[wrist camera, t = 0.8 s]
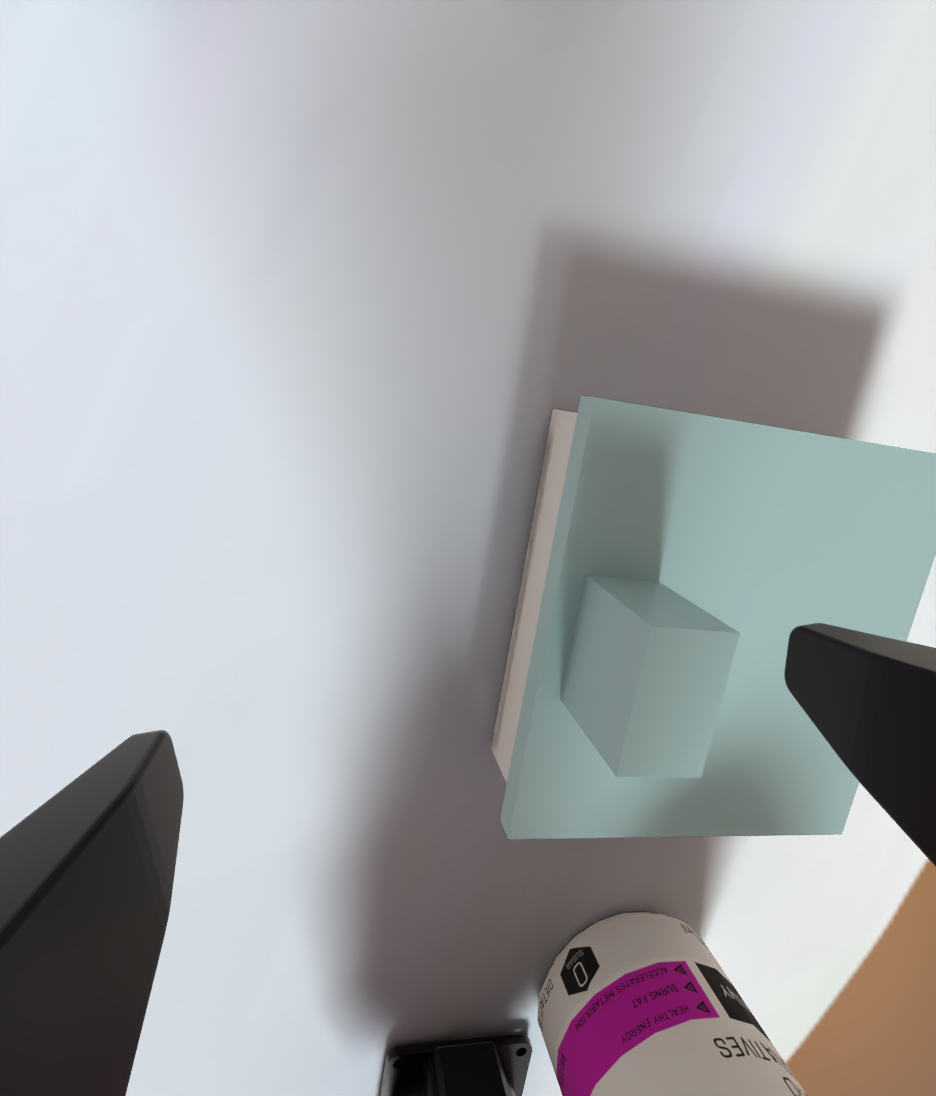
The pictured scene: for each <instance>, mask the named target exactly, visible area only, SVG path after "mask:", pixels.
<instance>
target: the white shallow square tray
mask: <svg viewBox="0 0 936 1096" xmlns="http://www.w3.org/2000/svg"><path fill="white" fill-rule="evenodd" d="M576 418H577V413H576V412H569V411H563V410H557V409H553V410H552V416H551V421H550V427H549V432H548V438H547V443H546V449H545V454H544V460H543V465H542V471H541V476H540V482H539V487H538V493H537V498H536V504H535V509H534V515H533V520H532V526H531V531H530V537H529V542H528V548H527V553H526V559H525V564H524V570H523V575H522V581H521V586H520V592H519V597H518V603H517V608H516V614H515V619H514V625H513V630H512V636H511V641H510V647H509V652H508V658H507V663H506V669H505V674H504V680H503V685H502V691H501V696H500V702H499V707H498V713H497V718H496V724H495V729H494V735H493V740H492V746H491V749H492V752H493V754H494V756H495V759H496V761H497V763H498V765H499V768H500V770H501V772H502V774H503V777H504V779H505V781H506V783H507V779H508V774H509V769H510V764H511V758H512V753H513V748H514V743H515V737H516V732H517V727H518V722H519V716H520V711H521V706H522V701H523V695H524V690H525V685H526V680H527V675H528V669H529V664H530V659H531V654H532V648H533V643H534V638H535V633H536V627H537V622H538V617H539V612H540V606H541V601H542V596H543V591H544V585H545V580H546V575H547V570H548V564H549V559H550V554H551V549H552V544H553V538H554V533H555V528H556V523H557V517H558V512H559V507H560V502H561V496H562V491H563V486H564V481H565V475H566V470H567V465H568V460H569V454H570V449H571V444H572V439H573V433H574V428H575V423H576Z"/></svg>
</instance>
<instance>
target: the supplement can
mask: <svg viewBox="0 0 936 1096" xmlns="http://www.w3.org/2000/svg"><path fill="white" fill-rule="evenodd" d="M538 1024H539V1027H540V1029H541V1032H542V1035H543V1038H544V1041H545V1044H546V1047H547V1050H548V1053H549V1056H550V1059H551V1062H552V1065H553V1068H554V1071H555V1074H556V1077H557V1080H558V1083H559V1086H560V1089H561V1092H562V1095H563V1096H807V1095H806V1093H805V1092H804V1090H803V1089H802V1087H801V1086H800V1085H799V1083H798V1082H797V1080H796V1079H795V1077H794V1076H793V1074H792V1073H791V1071H790V1070H789V1068H788V1067H787V1065H786V1064H785V1062H784V1061H783V1059H782V1058H781V1056H780V1055H779V1053H778V1052H777V1050H776V1049H775V1047H774V1046H773V1044H772V1043H771V1041H770V1040H769V1038H768V1037H767V1035H766V1034H765V1032H764V1031H763V1029H762V1028H761V1026H760V1025H759V1023H758V1022H757V1020H756V1019H755V1017H754V1016H753V1015H752V1013H751V1012H750V1010H749V1009H748V1007H747V1006H746V1004H745V1003H744V1001H743V1000H742V998H741V997H740V995H739V994H738V992H737V991H736V989H735V988H734V986H733V985H732V983H731V982H730V980H729V979H728V977H727V976H726V974H725V973H724V971H723V970H722V968H721V967H720V965H719V964H718V962H717V961H716V959H715V958H714V956H713V955H712V953H711V952H710V951H709V949H708V948H707V946H706V945H705V943H704V942H703V940H702V939H701V937H700V936H699V935H698V934H697V933H696V932H695V931H694V930H693V929H692V928H691V927H690V926H689V925H688V924H687V923H686V922H684V921H681V920H678V919H675V918H672V917H669V916H666V915H663V914H652V913H649V912H635V913H621V914H618V915H615V916H612V917H609V918H606V919H604V920H601V921H598V922H596V923H594V924H593V925H591V926H590V927H588V928H587V929H585V930H584V931H582V932H581V933H579V934H578V935H576V936H575V937H574V938H573V939H572V940H571V941H570V942H569V943H568V944H567V946H566V947H565V948H564V949H563V950H562V951H561V952H560V954H559V955H558V956H557V957H556V959H555V961H554V963H553V966H552V967H551V969H550V971H549V973H548V975H547V978H546V980H545V982H544V984H543V987H542V989H541V991H540V993H539V999H538Z"/></svg>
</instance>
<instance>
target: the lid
mask: <svg viewBox="0 0 936 1096" xmlns="http://www.w3.org/2000/svg"><path fill="white" fill-rule="evenodd" d="M935 554H936V454H935V453H929V452H923V451H917V450H911V449H905V448H899V447H893V446H886V445H880V444H874V443H868V442H862V441H856V440H850V439H844V438H838V437H832V436H826V435H820V434H814V433H808V432H802V431H796V430H790V429H784V428H778V427H772V426H766V425H760V424H754V423H748V422H742V421H736V420H730V419H724V418H718V417H712V416H706V415H700V414H694V413H688V412H682V411H676V410H670V409H664V408H658V407H652V406H646V405H640V404H634V403H628V402H622V401H616V400H610V399H604V398H598V397H590V396H581V397H580V402H579V407H578V413H577V418H576V423H575V428H574V433H573V439H572V444H571V449H570V454H569V460H568V465H567V470H566V475H565V481H564V486H563V491H562V496H561V502H560V507H559V512H558V517H557V523H556V528H555V533H554V538H553V544H552V549H551V554H550V559H549V564H548V570H547V575H546V580H545V585H544V591H543V596H542V601H541V606H540V612H539V617H538V622H537V627H536V633H535V638H534V643H533V648H532V654H531V659H530V664H529V669H528V675H527V680H526V685H525V690H524V695H523V701H522V706H521V711H520V716H519V722H518V727H517V732H516V737H515V743H514V748H513V753H512V758H511V764H510V769H509V774H508V779H507V785H506V790H505V795H504V800H503V806H502V811H501V816H500V820H501V823H502V826H503V828H504V831H505V833H506V836H507V838H508V839H571V838H636V837H702V836H768V835H833V834H842V832H843V829H844V826H845V823H846V820H847V817H848V814H849V811H850V808H851V805H852V802H853V799H854V796H855V793H856V790H857V787H858V784H859V781H858V780H857V779H856V778H855V776H854V775H853V774H852V773H851V772H850V771H849V769H848V768H847V767H846V766H845V764H844V763H843V762H842V760H841V759H840V758H839V757H838V755H837V754H836V753H835V751H834V750H833V749H832V747H831V746H830V745H829V743H828V742H827V741H826V739H825V738H824V737H823V735H822V734H821V733H820V731H819V730H818V729H817V727H816V726H815V725H814V723H813V722H812V721H811V719H810V718H809V717H808V715H807V714H806V713H805V711H804V710H803V709H802V707H801V706H800V705H799V703H798V702H797V701H796V699H795V698H794V697H793V695H792V694H791V693H790V691H789V690H788V688H787V685H786V682H785V677H784V671H785V664H786V656H787V648H788V641H789V635H790V633H791V631H792V630H793V629H794V628H795V627H797V626H801V625H807V624H813V623H824V624H828V625H833V626H838V627H842V628H847V629H851V630H856V631H860V632H865V633H869V634H874V635H878V636H883V637H887V638H892V639H897V640H901V641H907V638H908V635H909V632H910V629H911V626H912V623H913V620H914V617H915V614H916V611H917V608H918V605H919V602H920V599H921V596H922V593H923V590H924V587H925V584H926V581H927V578H928V575H929V572H930V569H931V566H932V563H933V560H934V557H935Z"/></svg>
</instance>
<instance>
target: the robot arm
mask: <svg viewBox="0 0 936 1096" xmlns="http://www.w3.org/2000/svg"><path fill="white" fill-rule="evenodd" d="M784 677H785V682H786V685H787V688H788V690H789V691H790V693H791V694H792V695H793V697H794V698H795V699H796V701H797V702H798V703H799V705H800V706H801V707H802V709H803V710H804V711H805V713H806V714H807V715H808V717H809V718H810V719H811V721H812V722H813V723H814V725H815V726H816V727H817V729H818V730H819V731H820V733H821V734H822V735H823V737H824V738H825V739H826V741H827V742H828V743H829V745H830V746H831V747H832V749H833V750H834V751H835V753H836V754H837V755H838V757H839V758H840V759H841V760H842V762H843V763H844V764H845V766H846V767H847V768H848V769H849V771H850V772H851V773H852V774H853V775H854V776H855V778H856V779H857V780H858V781H859V782H860V783H861V784H862V786H863V787H864V788H865V789H866V790H867V791H868V792H869V793H870V794H871V796H872V797H873V798H874V799H875V800H876V801H877V802H878V803H879V804H880V805H881V807H882V808H883V809H884V810H885V811H886V812H887V813H888V814H889V815H890V817H891V818H892V819H893V820H894V821H895V822H896V823H897V824H898V825H899V827H900V828H901V829H902V830H903V831H904V832H905V833H906V834H907V835H908V837H909V838H910V839H911V840H912V841H913V842H914V843H915V844H916V845H917V847H918V848H919V849H920V850H921V851H922V852H923V853H924V854H925V855H926V856H927V858H928V859H929V860H930V861H931V862H932V863H933V864H934V865H935V866H936V648H933V647H928V646H924V645H919V644H915V643H910V642H906V641H901V640H897V639H892V638H887V637H883V636H878V635H874V634H869V633H865V632H860V631H856V630H851V629H847V628H842V627H838V626H833V625H828V624H824V623H813V624H807V625H801V626H797V627H795V628H794V629H793V630H792V631H791V633H790V635H789V641H788V648H787V656H786V664H785V671H784ZM182 808H183V783H182V779H181V775H180V771H179V767H178V763H177V759H176V755H175V751H174V747H173V743H172V739H171V737H170V735H169V734H168V733H167V732H166V731H164V730H159V731H153V732H147V733H141V734H135V735H132V736H131V737H129V738H128V739H127V740H125V741H124V742H123V743H121V744H120V745H119V746H118V747H116V748H115V749H114V750H112V751H111V752H110V753H109V754H107V755H106V756H105V757H103V758H102V759H101V760H100V761H98V762H97V763H96V764H94V765H93V766H92V767H91V768H89V769H88V770H87V771H85V772H84V773H83V774H82V775H80V776H79V777H78V778H76V779H75V780H74V781H73V782H71V783H70V784H69V785H67V786H66V787H65V788H64V789H62V790H61V791H60V792H58V793H57V794H56V795H55V796H53V797H52V798H51V799H49V800H48V801H47V802H46V803H44V804H43V805H42V806H40V807H39V808H38V809H37V810H35V811H34V812H33V813H31V814H30V815H29V816H28V817H26V818H25V819H24V820H22V821H21V822H20V823H19V824H17V825H16V826H15V827H13V828H12V829H11V830H10V831H8V832H7V833H6V834H4V835H3V836H2V837H1V838H0V1096H125V1095H126V1091H127V1087H128V1083H129V1079H130V1075H131V1070H132V1066H133V1062H134V1058H135V1054H136V1050H137V1046H138V1042H139V1038H140V1034H141V1030H142V1025H143V1021H144V1017H145V1013H146V1009H147V1005H148V1001H149V997H150V993H151V989H152V985H153V980H154V976H155V972H156V968H157V964H158V960H159V956H160V952H161V948H162V944H163V940H164V935H165V931H166V926H167V922H168V917H169V911H170V904H171V897H172V889H173V881H174V873H175V865H176V857H177V849H178V841H179V832H180V824H181V816H182ZM531 1053H532V1046H531V1043H530V1040H529V1038H528V1036H526V1035H521V1034H520V1035H509V1036H499V1037H488V1038H477V1039H466V1040H456V1041H445V1042H434V1043H423V1044H413V1045H402V1046H396V1047H394V1048H392V1049H390V1050H389V1052H388V1053H387V1055H386V1061H385V1067H384V1073H383V1080H382V1086H381V1092H380V1096H522V1093H523V1088H524V1084H525V1079H526V1075H527V1071H528V1066H529V1062H530V1057H531Z"/></svg>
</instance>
